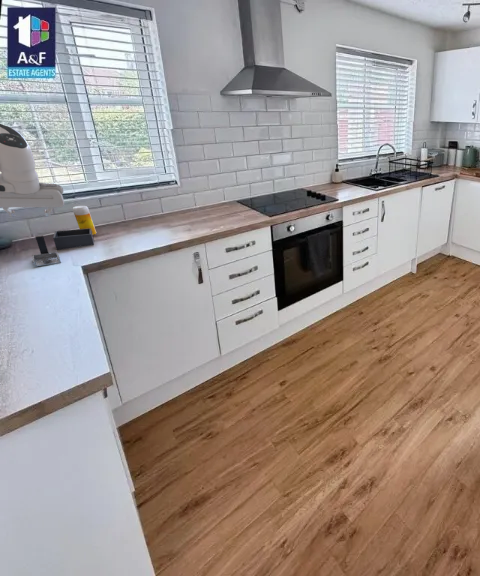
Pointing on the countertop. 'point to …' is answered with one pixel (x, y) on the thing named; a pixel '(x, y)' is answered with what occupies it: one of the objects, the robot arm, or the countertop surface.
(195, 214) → the countertop surface
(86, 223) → the glass of beer
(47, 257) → the grey square piece
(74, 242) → the bin
